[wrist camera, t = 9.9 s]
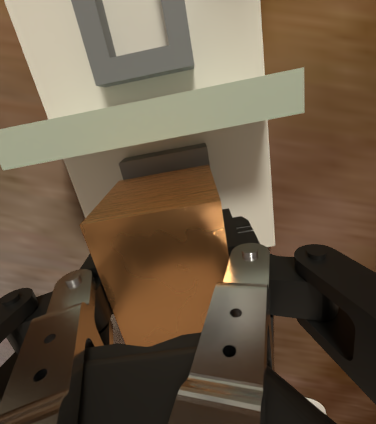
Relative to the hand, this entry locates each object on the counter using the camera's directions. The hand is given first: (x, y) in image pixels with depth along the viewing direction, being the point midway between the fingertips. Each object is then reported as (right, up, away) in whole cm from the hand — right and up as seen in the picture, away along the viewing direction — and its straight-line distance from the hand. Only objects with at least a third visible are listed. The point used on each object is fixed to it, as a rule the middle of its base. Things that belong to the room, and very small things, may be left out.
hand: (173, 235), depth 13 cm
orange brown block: (0, +1, +2) cm, 2 cm away
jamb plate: (-1, +7, +2) cm, 7 cm away
